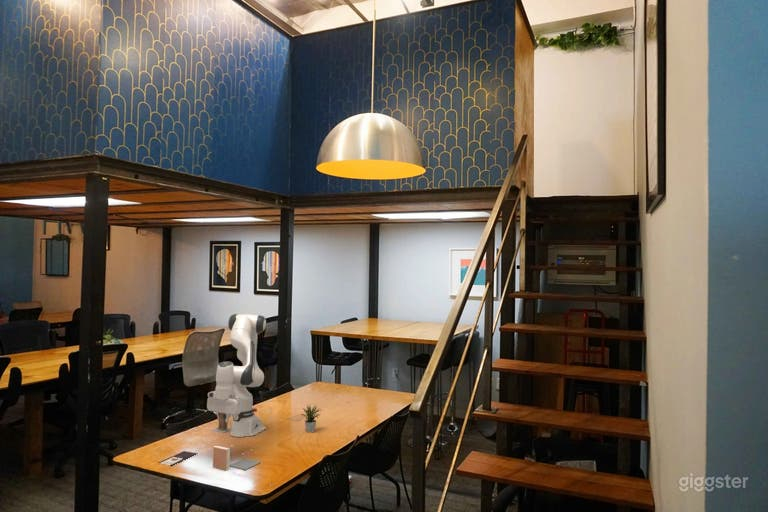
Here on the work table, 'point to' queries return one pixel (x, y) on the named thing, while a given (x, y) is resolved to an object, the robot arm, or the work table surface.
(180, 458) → the chocolate bar
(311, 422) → the house plant
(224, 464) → the tile
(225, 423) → the wood block on plate
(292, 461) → the work table surface
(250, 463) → the slate mat
